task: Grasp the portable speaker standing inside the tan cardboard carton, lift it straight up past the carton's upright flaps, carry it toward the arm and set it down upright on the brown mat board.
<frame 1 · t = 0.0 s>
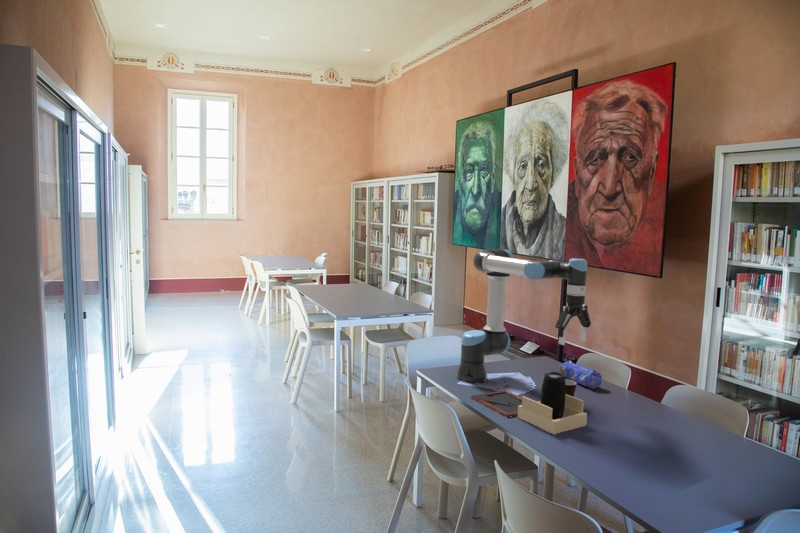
hand: (572, 342, 236), 28 cm above the table, tool pointing down, fingers open, 13 cm apart
pencil case: (579, 383, 272), on the table
carton: (551, 421, 219), on the table
portable speaker: (551, 422, 219), resting in carton
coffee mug: (565, 403, 241), on the table
picture frame: (506, 406, 237), on the table
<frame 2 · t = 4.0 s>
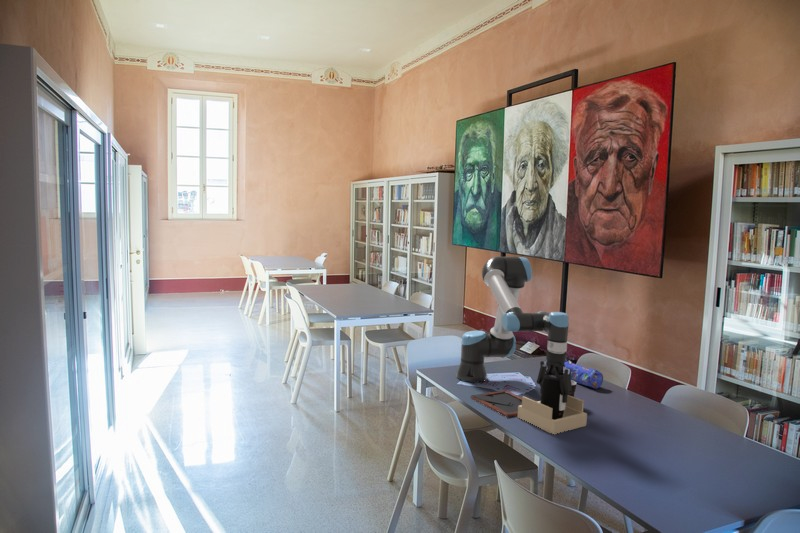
hand: (552, 406, 218), 6 cm above the table, tool pointing down, fingers closed on portable speaker, 9 cm apart
portable speaker: (551, 422, 219), resting in carton, touching gripper
when the fingers open (9 cm above the table, at t = 12.9 s): portable speaker drops 2 cm, resting on picture frame.
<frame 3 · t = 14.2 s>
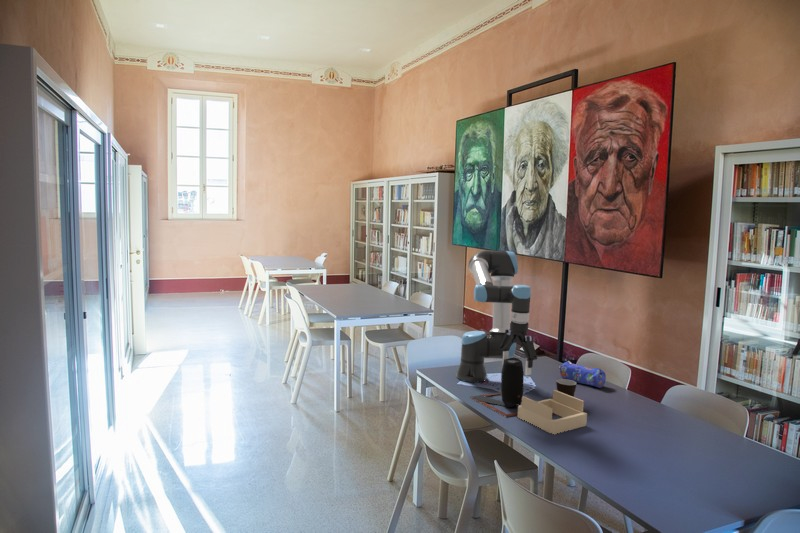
hand: (516, 370, 232), 16 cm above the table, tool pointing down, fingers open, 13 cm apart
portable speaker: (511, 404, 234), point 1 cm above the table, touching picture frame
picture frame: (505, 407, 237), on the table, touching portable speaker
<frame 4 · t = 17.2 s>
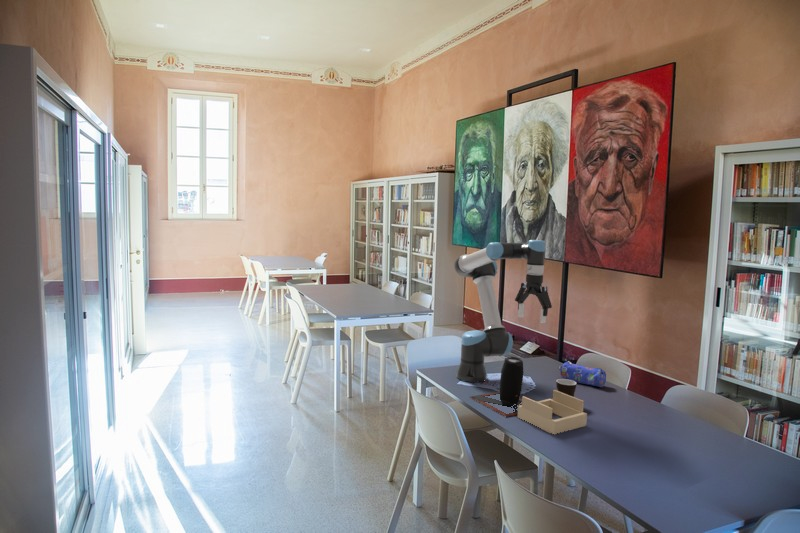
hand: (531, 320, 248), 35 cm above the table, tool pointing down, fingers open, 13 cm apart
portable speaker: (508, 403, 236), point 1 cm above the table
picture frame: (505, 407, 237), on the table
at the end: portable speaker inside the target area on the picture frame (1.6 cm from its centre), point 2.1 cm above the picture frame's base; portable speaker tilted 2°; the gripper is holding nothing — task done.
